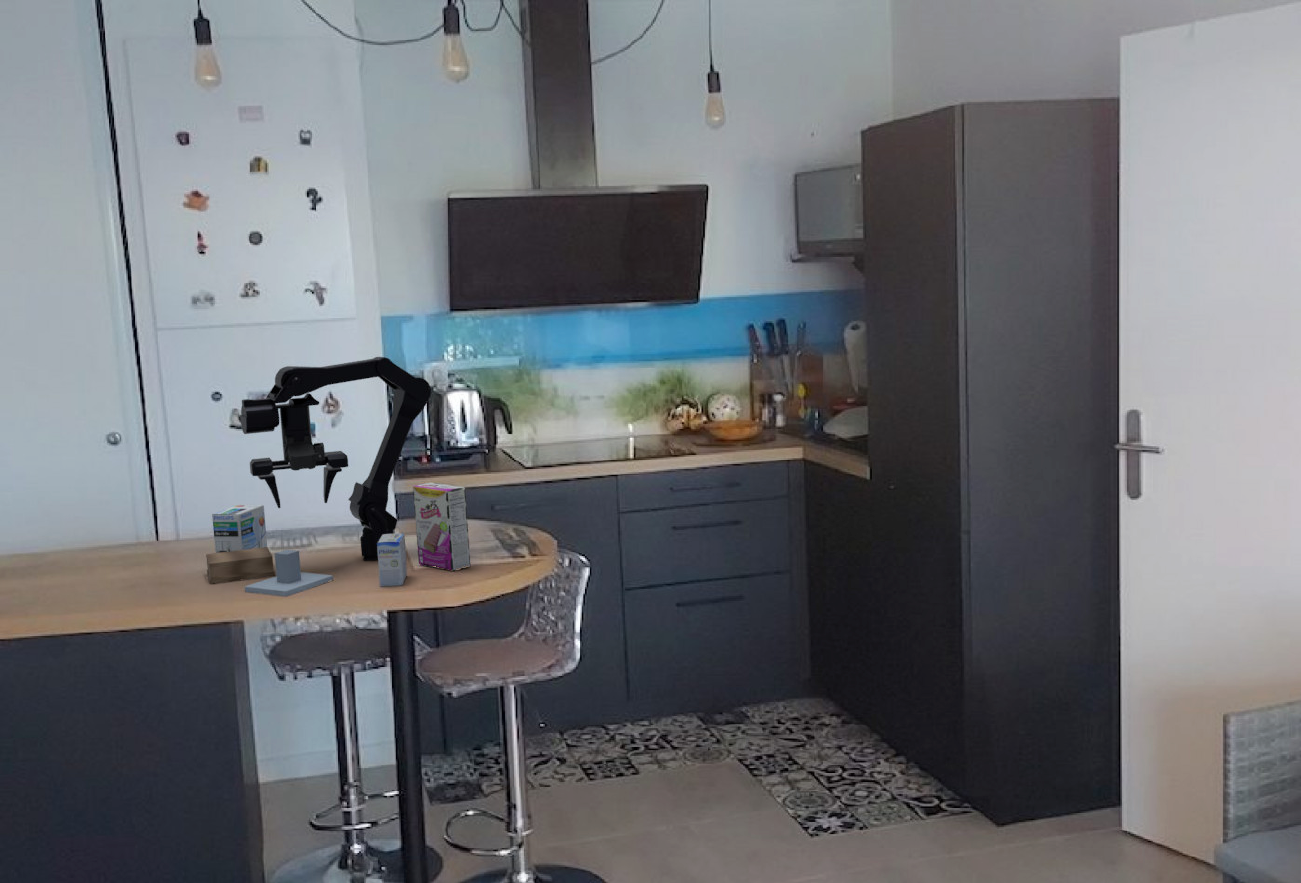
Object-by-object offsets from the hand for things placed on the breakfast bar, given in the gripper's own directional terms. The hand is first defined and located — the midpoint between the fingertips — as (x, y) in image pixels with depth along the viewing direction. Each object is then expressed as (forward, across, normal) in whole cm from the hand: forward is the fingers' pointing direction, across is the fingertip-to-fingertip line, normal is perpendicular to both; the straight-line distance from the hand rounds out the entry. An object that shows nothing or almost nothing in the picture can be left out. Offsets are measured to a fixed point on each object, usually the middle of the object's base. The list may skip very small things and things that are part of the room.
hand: (302, 505), depth 261 cm
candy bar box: (+13, +25, -15) cm, 32 cm away
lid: (+14, -5, -14) cm, 20 cm away
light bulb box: (+13, -11, +18) cm, 25 cm away
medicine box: (+13, +13, -22) cm, 29 cm away
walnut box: (+13, -13, +2) cm, 18 cm away
